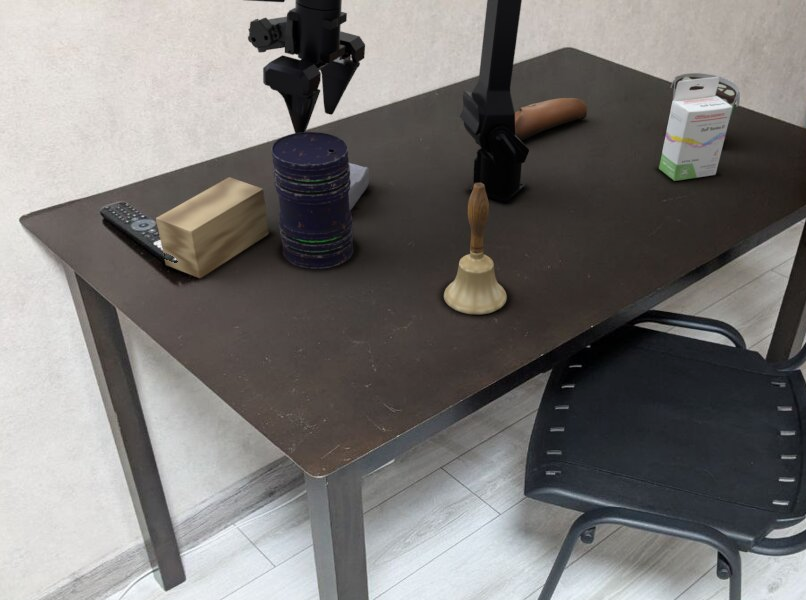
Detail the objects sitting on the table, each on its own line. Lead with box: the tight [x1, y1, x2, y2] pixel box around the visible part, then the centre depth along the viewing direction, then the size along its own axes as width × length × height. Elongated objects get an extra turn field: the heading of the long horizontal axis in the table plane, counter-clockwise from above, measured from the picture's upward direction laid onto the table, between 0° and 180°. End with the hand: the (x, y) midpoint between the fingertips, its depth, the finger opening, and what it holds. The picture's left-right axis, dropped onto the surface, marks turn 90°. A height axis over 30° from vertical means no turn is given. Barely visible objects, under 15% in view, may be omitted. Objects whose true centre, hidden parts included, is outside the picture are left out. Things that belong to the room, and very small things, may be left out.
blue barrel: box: [271, 131, 354, 270], centre depth 122 cm, size 10×10×15 cm
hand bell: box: [443, 183, 508, 316], centre depth 115 cm, size 8×8×16 cm
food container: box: [669, 72, 741, 121], centre depth 159 cm, size 12×6×10 cm, turn 58°
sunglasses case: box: [515, 97, 588, 142], centre depth 160 cm, size 18×7×7 cm
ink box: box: [658, 76, 732, 182], centre depth 146 cm, size 9×5×15 cm, turn 114°
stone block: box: [349, 162, 371, 212], centre depth 137 cm, size 12×5×10 cm
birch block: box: [155, 176, 270, 279], centre depth 123 cm, size 6×14×7 cm, turn 151°
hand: (314, 124), depth 124 cm, fingers open, 9 cm apart
